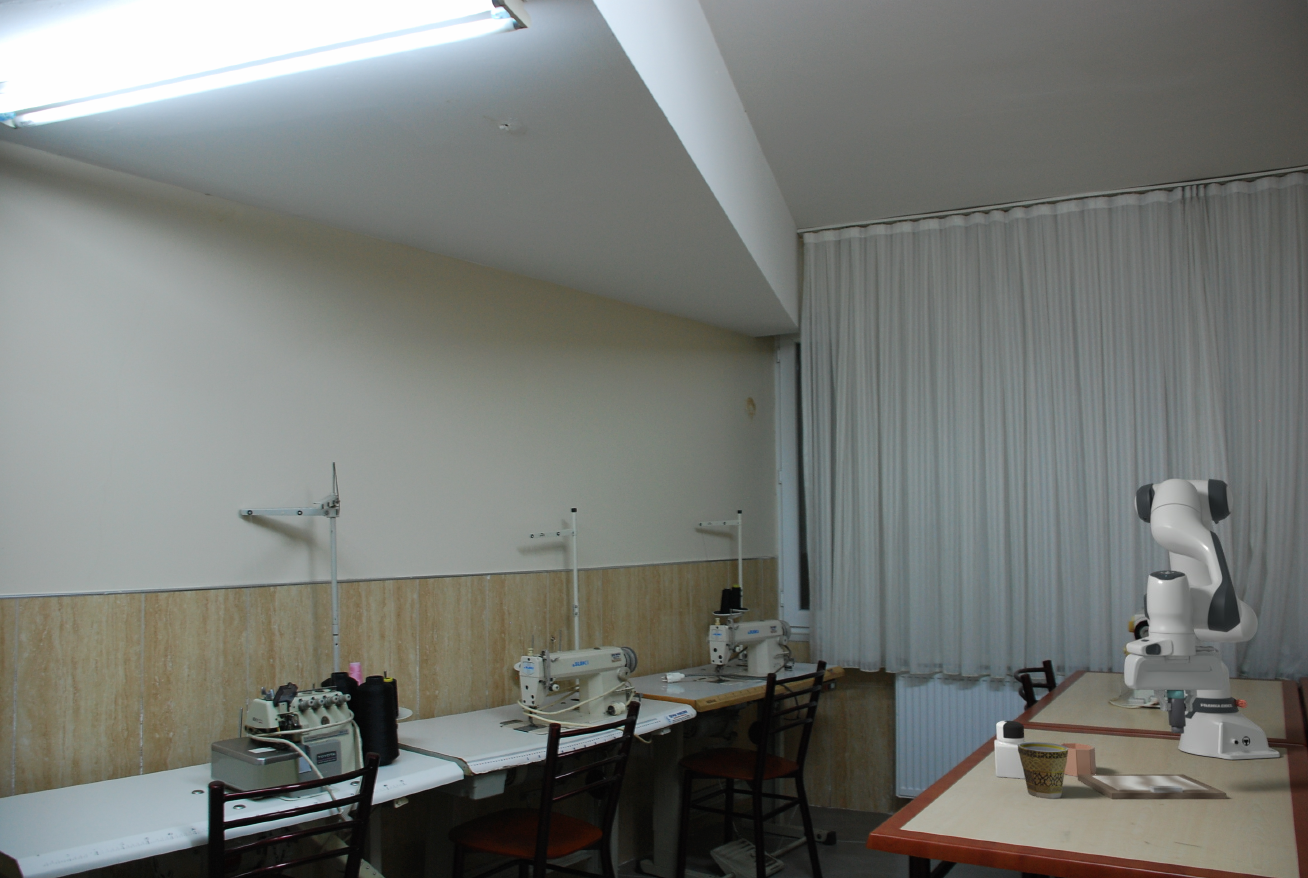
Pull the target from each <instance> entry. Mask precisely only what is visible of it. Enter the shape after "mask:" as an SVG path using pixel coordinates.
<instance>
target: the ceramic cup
mask: <svg viewBox="0 0 1308 878" xmlns="http://www.w3.org/2000/svg"><path fill="white" fill-rule="evenodd" d="M1059 744H1060V743H1055V742H1054V743H1053V742H1044V741H1042V742H1041V741H1025V742H1023V743H1020V744H1018V752H1019V755H1020V760H1021V763H1022V766H1023V771H1024V776H1025V779H1024V780H1025V784H1026V789H1027V793H1028V795H1030V796H1032V797H1035V796H1036V797H1035V798H1039V797H1040V798H1041V799H1049V800H1051V799H1053V800H1054V799H1061V796H1062V795H1063V788H1064V787H1063V785H1064V780H1065V779H1064V777H1065V774H1064V771H1065V767H1066V763H1067V755H1068V748H1067V747H1065V746H1063V745H1059Z"/></svg>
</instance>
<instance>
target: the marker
mask: <svg viewBox="0 0 1308 878" xmlns="http://www.w3.org/2000/svg"><path fill="white" fill-rule="evenodd" d="M1166 699H1167V701H1166V702H1168V703H1171V707H1170V708H1171V711H1167V713H1168V725H1169V726H1170V730H1171V733H1173V734H1180V735H1181V734H1183V733H1184V727H1185V726H1186V720H1185V704H1184V690H1166Z"/></svg>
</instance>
